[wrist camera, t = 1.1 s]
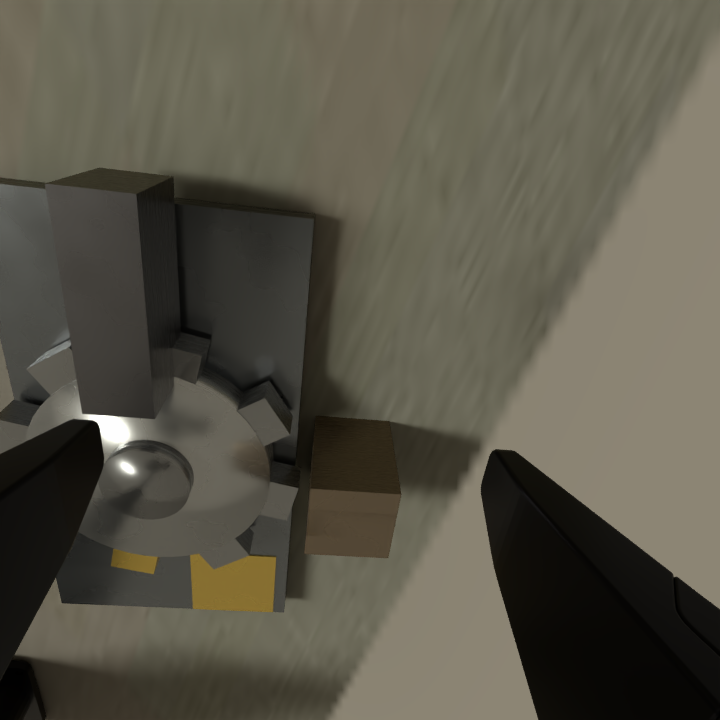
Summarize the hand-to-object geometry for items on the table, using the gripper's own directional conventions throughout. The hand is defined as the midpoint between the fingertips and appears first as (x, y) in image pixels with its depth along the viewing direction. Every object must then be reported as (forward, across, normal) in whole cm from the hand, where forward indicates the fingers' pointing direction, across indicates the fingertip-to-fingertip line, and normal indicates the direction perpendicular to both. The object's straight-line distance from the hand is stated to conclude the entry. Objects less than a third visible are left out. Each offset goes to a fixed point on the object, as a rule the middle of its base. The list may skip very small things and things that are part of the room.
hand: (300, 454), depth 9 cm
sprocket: (+11, +6, +6) cm, 14 cm away
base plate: (+12, +6, +9) cm, 16 cm away
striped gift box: (+12, -2, +9) cm, 15 cm away
